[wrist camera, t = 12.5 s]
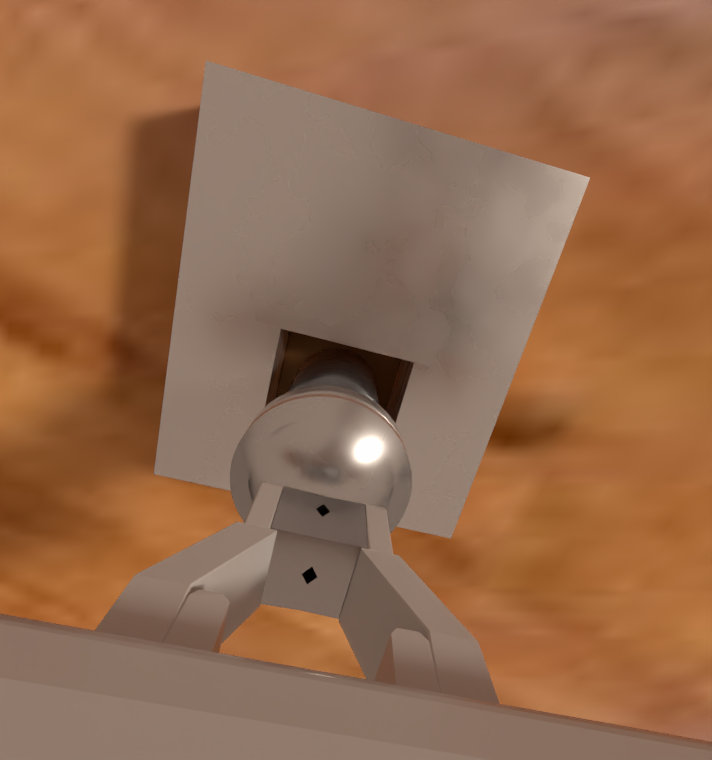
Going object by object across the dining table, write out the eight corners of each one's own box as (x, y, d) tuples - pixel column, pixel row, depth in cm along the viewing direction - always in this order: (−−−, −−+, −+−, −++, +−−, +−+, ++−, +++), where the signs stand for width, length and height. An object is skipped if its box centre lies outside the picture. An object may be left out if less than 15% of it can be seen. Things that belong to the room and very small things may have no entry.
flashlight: (296, 327, 18) (247, 378, 10) (396, 352, 19) (435, 423, 10) (276, 421, 20) (216, 540, 11) (370, 443, 20) (384, 575, 11)
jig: (233, 99, 16) (206, 60, 13) (548, 193, 17) (590, 177, 14) (182, 444, 20) (153, 474, 17) (437, 501, 21) (450, 538, 18)
